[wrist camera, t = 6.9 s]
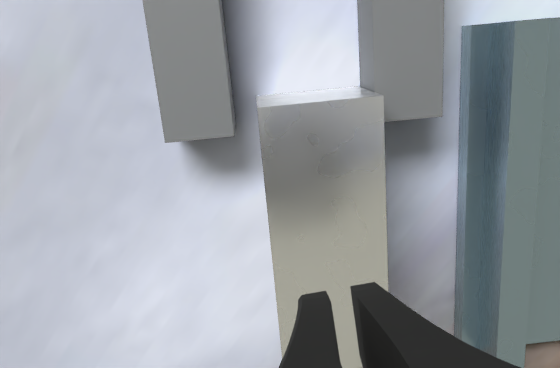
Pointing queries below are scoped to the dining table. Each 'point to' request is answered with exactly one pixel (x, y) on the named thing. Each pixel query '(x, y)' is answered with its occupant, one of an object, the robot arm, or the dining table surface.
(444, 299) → the dining table surface
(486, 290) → the cradle
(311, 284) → the rectangular block
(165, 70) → the grey bars
